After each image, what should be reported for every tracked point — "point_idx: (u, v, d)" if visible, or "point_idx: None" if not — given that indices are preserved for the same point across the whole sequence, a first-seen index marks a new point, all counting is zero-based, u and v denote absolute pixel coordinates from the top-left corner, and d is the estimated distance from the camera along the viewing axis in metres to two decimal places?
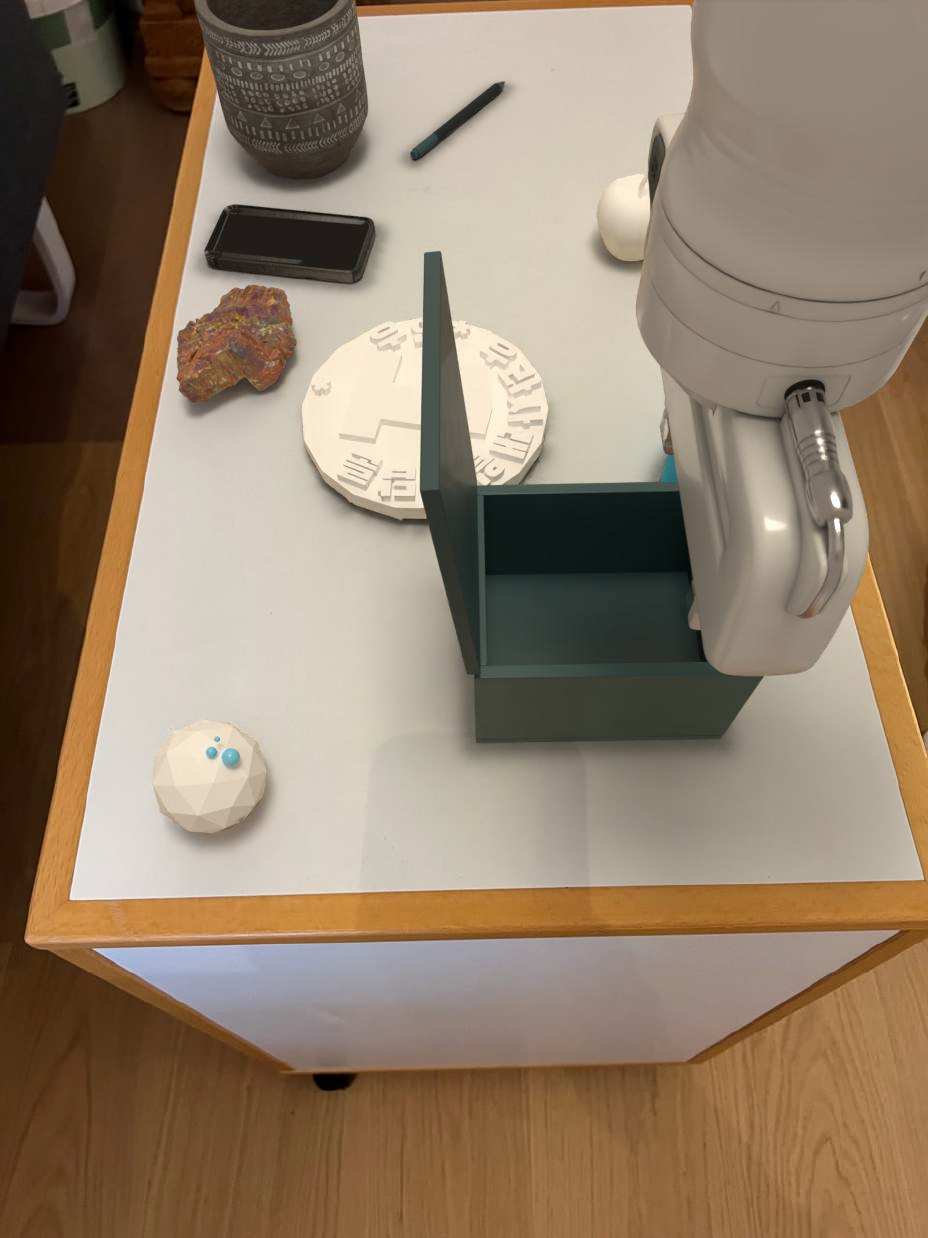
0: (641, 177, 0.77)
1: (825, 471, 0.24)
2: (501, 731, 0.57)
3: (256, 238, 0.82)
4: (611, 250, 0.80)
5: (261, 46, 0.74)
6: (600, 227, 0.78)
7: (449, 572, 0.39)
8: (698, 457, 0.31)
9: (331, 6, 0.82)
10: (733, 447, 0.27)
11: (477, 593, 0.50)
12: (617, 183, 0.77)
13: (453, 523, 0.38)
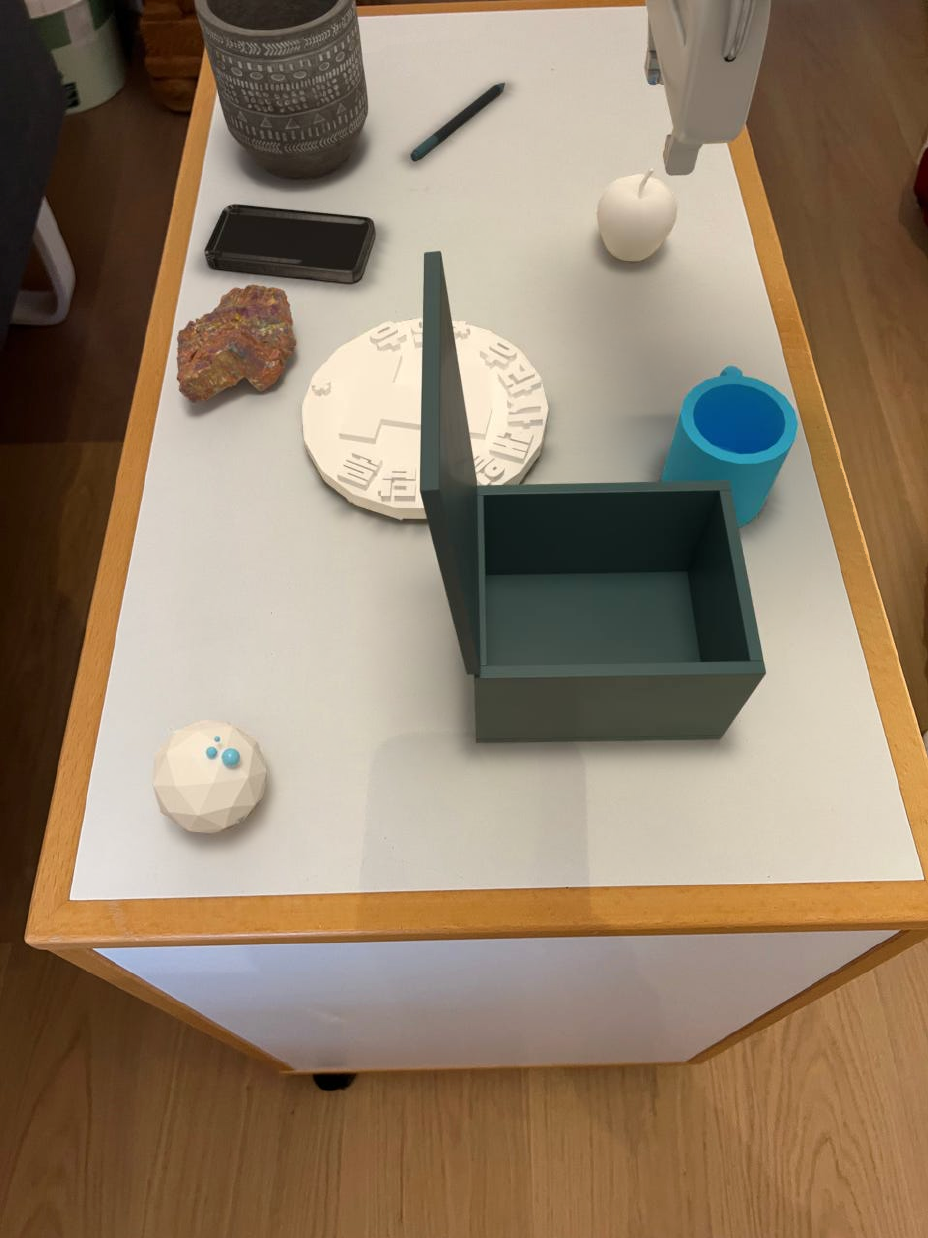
0: (641, 177, 0.77)
1: None
2: (501, 731, 0.57)
3: (256, 238, 0.82)
4: (611, 250, 0.80)
5: (261, 46, 0.74)
6: (600, 227, 0.78)
7: (449, 572, 0.39)
8: (670, 9, 0.49)
9: (331, 6, 0.82)
10: None
11: (477, 593, 0.50)
12: (617, 183, 0.77)
13: (453, 523, 0.38)
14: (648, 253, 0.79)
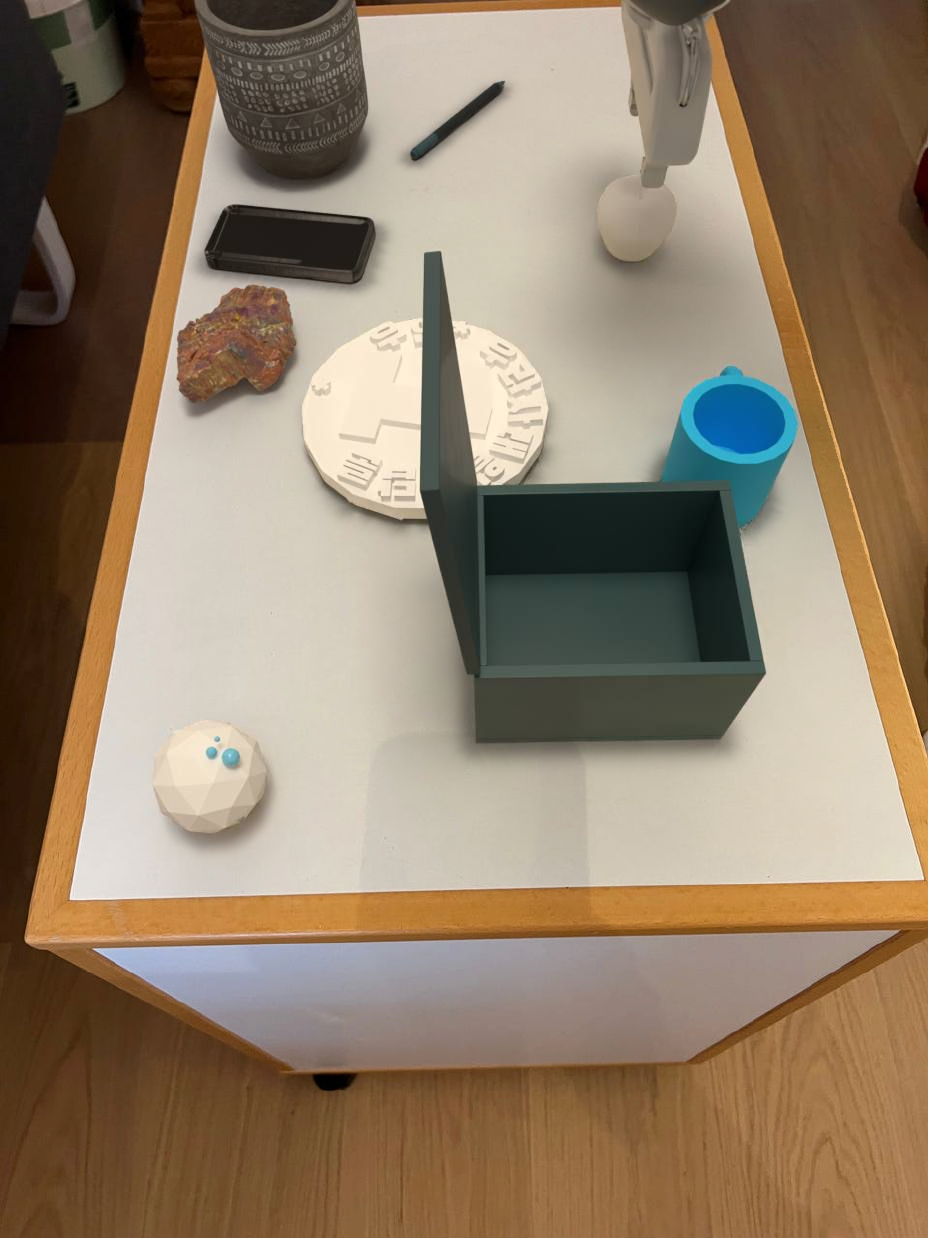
0: None
1: (690, 20, 0.57)
2: (501, 731, 0.57)
3: (256, 238, 0.82)
4: (611, 250, 0.80)
5: (261, 46, 0.74)
6: (600, 227, 0.78)
7: (449, 572, 0.39)
8: (643, 64, 0.64)
9: (331, 6, 0.82)
10: (655, 33, 0.60)
11: (477, 593, 0.50)
12: (617, 183, 0.77)
13: (453, 523, 0.38)
14: (648, 253, 0.79)
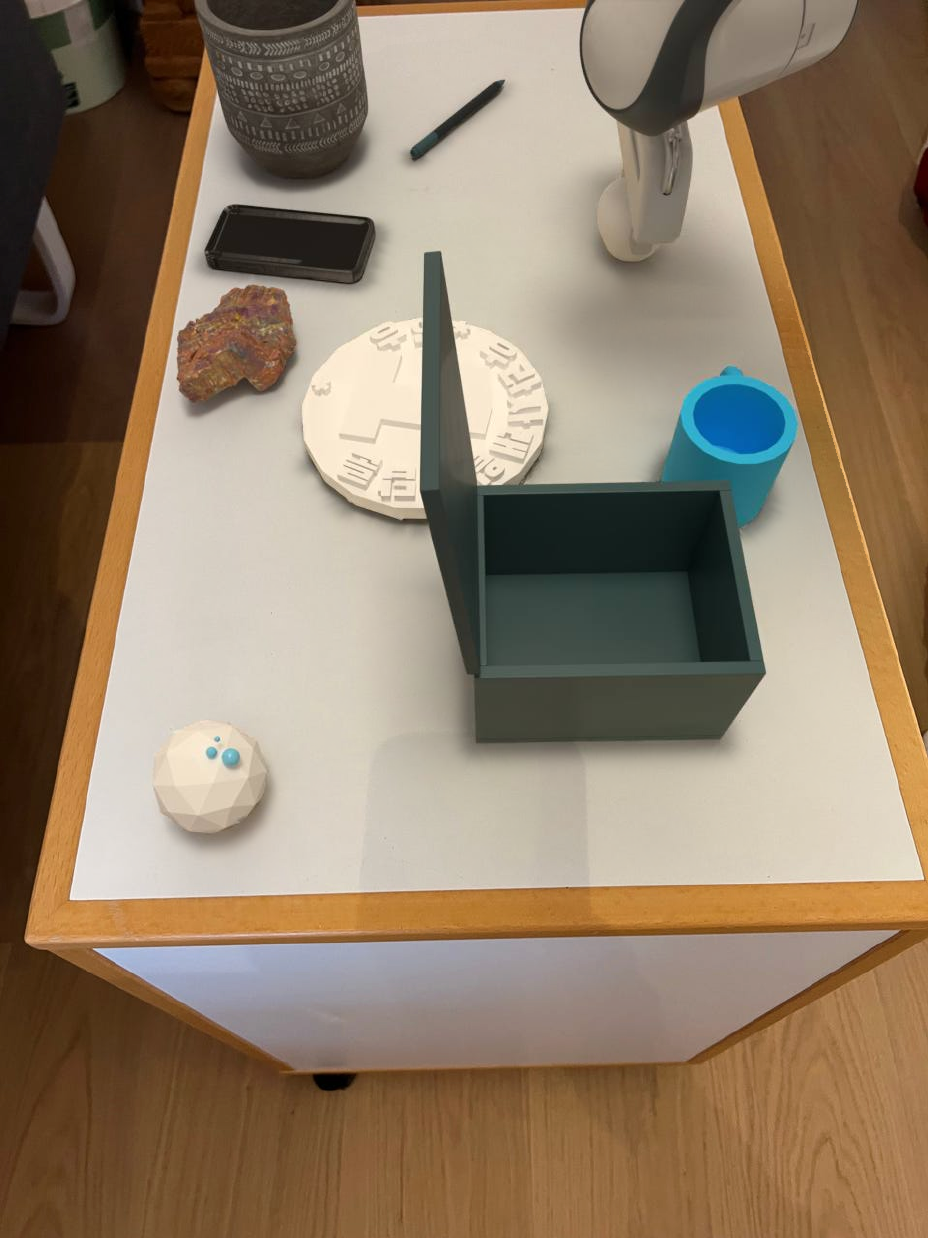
0: None
1: None
2: (501, 731, 0.57)
3: (256, 238, 0.82)
4: (611, 250, 0.80)
5: (261, 46, 0.74)
6: (600, 227, 0.78)
7: (449, 572, 0.39)
8: (631, 151, 0.71)
9: (331, 6, 0.82)
10: None
11: (477, 593, 0.50)
12: (617, 183, 0.77)
13: (453, 523, 0.38)
14: (648, 253, 0.79)
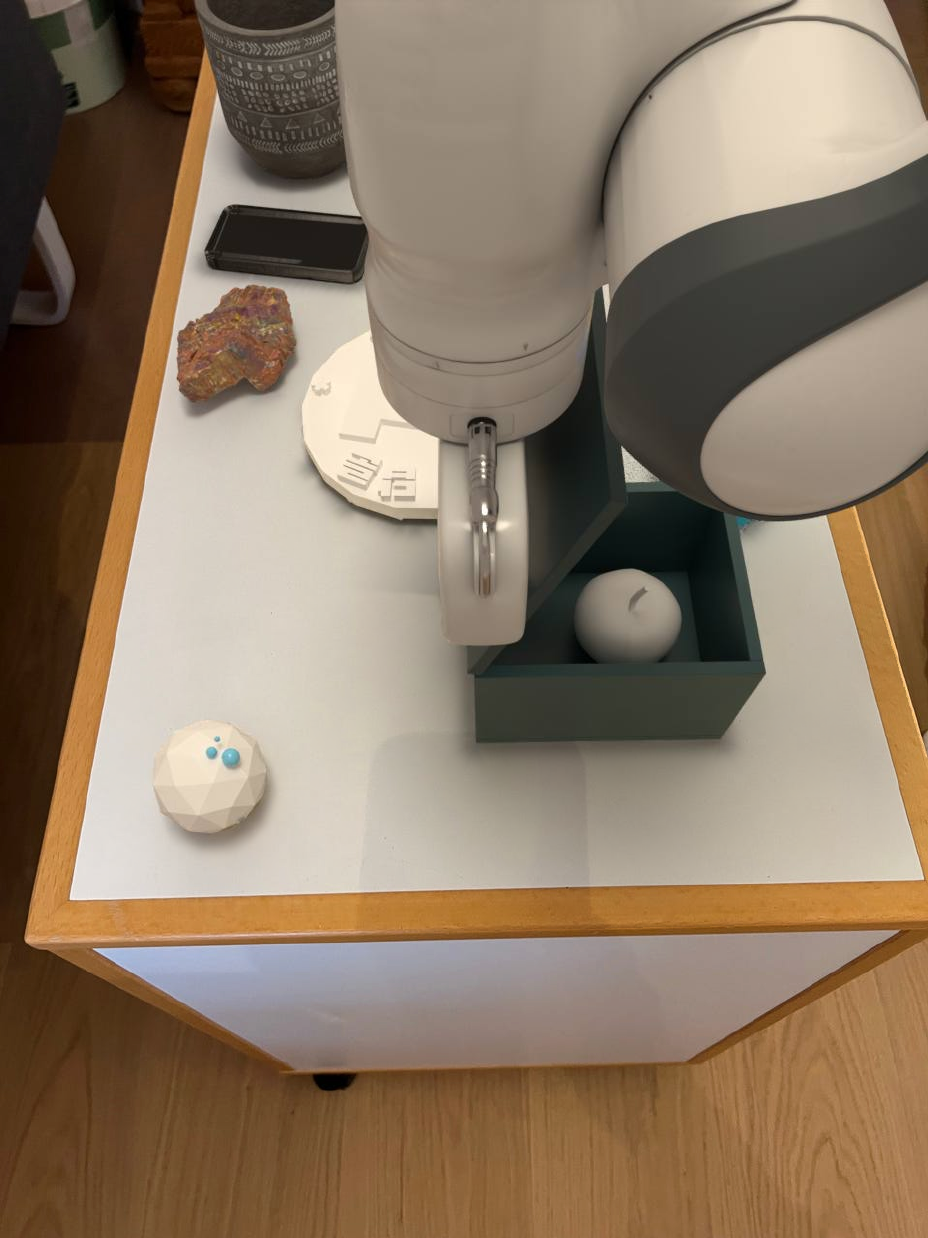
0: (633, 580, 0.57)
1: (479, 486, 0.32)
2: (501, 731, 0.57)
3: (256, 238, 0.82)
4: None
5: (261, 46, 0.74)
6: None
7: (556, 577, 0.40)
8: None
9: (331, 6, 0.82)
10: (439, 467, 0.35)
11: None
12: (601, 588, 0.57)
13: None
14: None
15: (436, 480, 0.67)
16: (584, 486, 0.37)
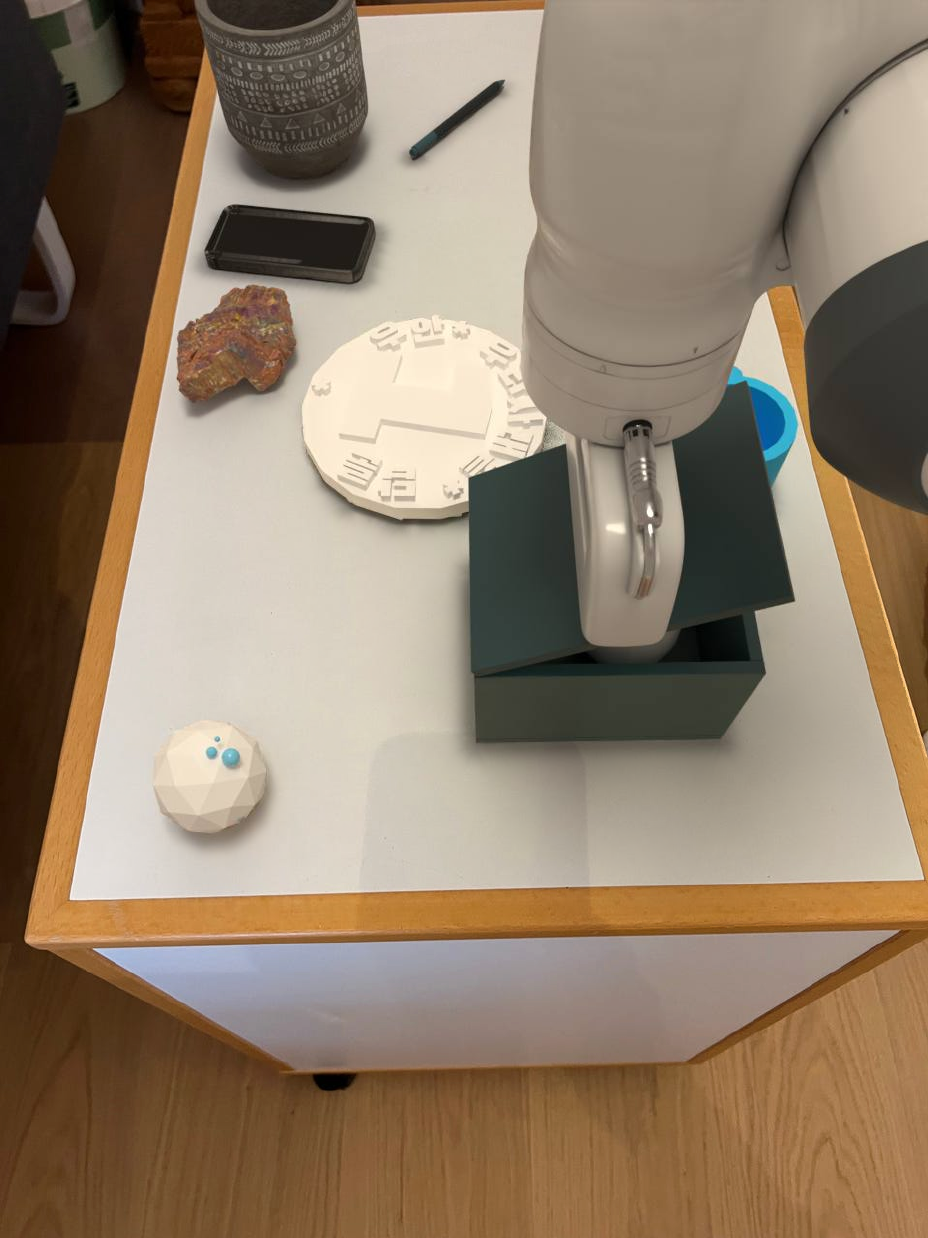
0: None
1: (643, 489, 0.32)
2: (501, 731, 0.57)
3: (256, 238, 0.82)
4: None
5: (261, 46, 0.74)
6: None
7: (668, 628, 0.44)
8: (577, 475, 0.40)
9: (331, 6, 0.82)
10: (589, 469, 0.36)
11: None
12: None
13: None
14: None
15: (436, 480, 0.67)
16: (743, 569, 0.43)
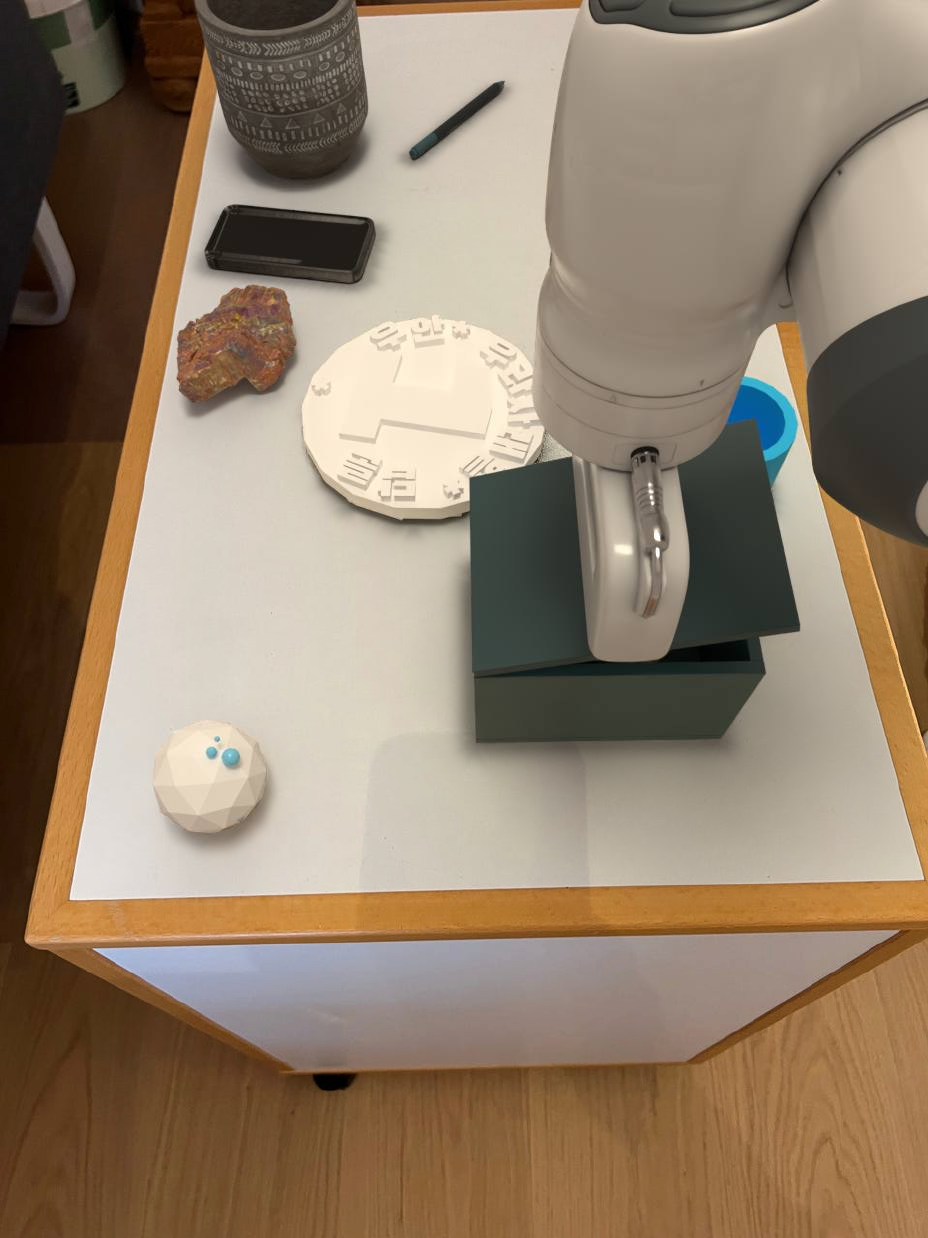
0: None
1: (651, 513, 0.34)
2: (501, 731, 0.57)
3: (256, 238, 0.82)
4: None
5: (261, 46, 0.74)
6: None
7: (676, 646, 0.46)
8: (584, 495, 0.41)
9: (331, 6, 0.82)
10: (598, 493, 0.37)
11: None
12: None
13: None
14: None
15: (436, 480, 0.67)
16: (752, 596, 0.46)
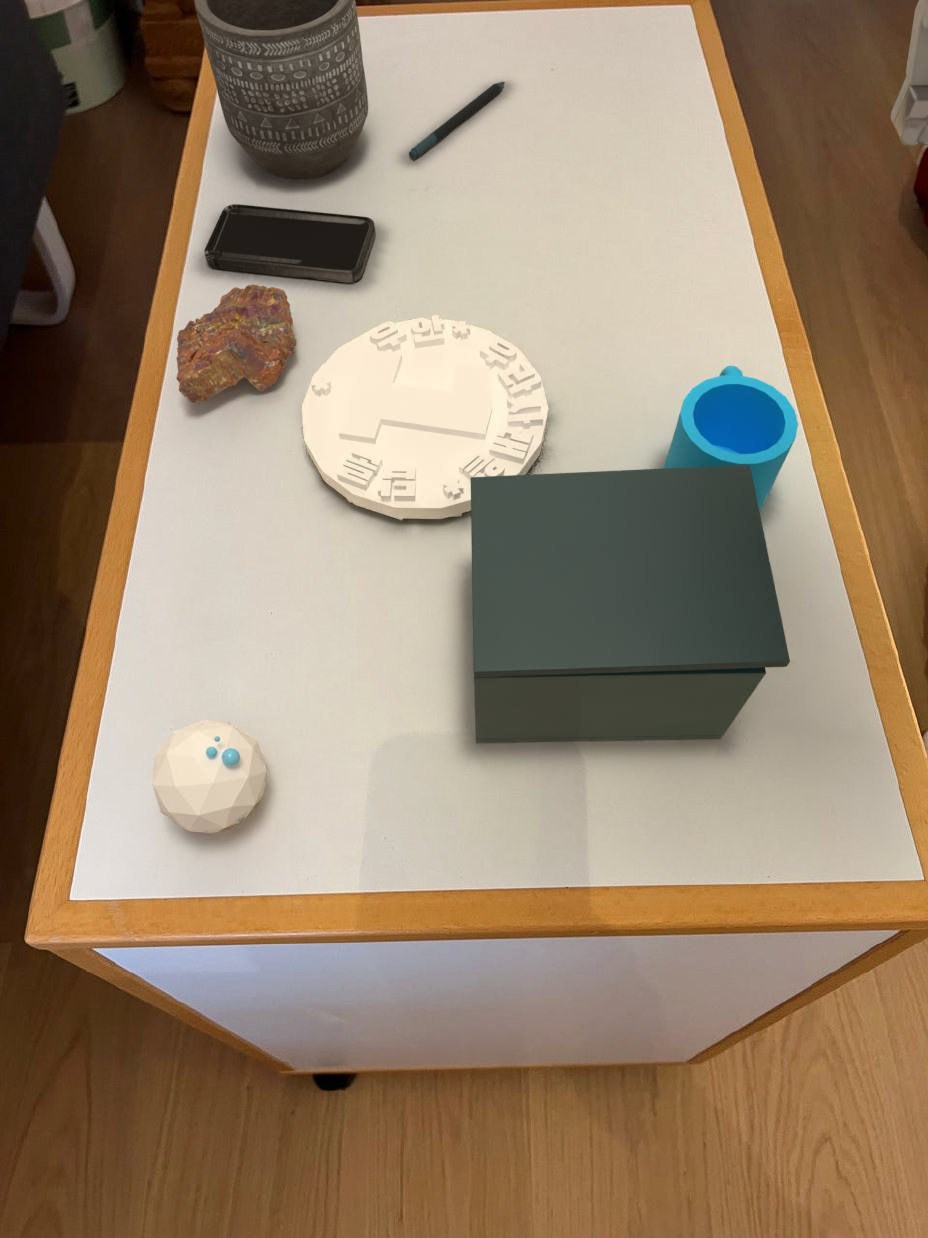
0: None
1: None
2: (501, 731, 0.57)
3: (256, 238, 0.82)
4: None
5: (261, 46, 0.74)
6: None
7: (675, 668, 0.48)
8: None
9: (331, 6, 0.82)
10: None
11: None
12: None
13: None
14: None
15: (436, 480, 0.67)
16: (747, 629, 0.49)
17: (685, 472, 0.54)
